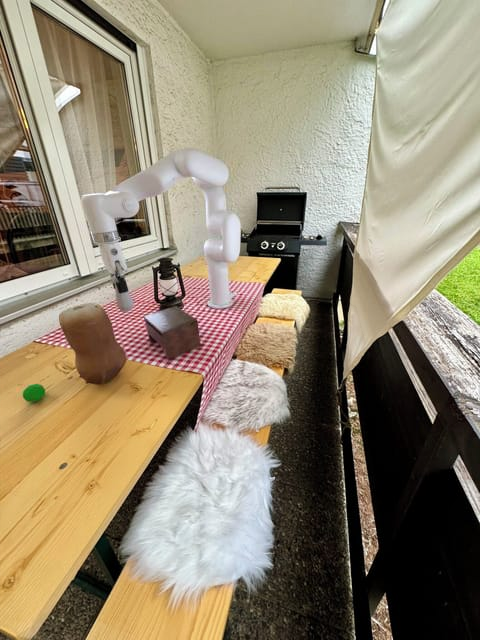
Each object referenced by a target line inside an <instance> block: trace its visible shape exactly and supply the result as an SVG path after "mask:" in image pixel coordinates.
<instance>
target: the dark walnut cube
mask: <svg viewBox="0 0 480 640" xmlns="http://www.w3.org/2000/svg"><path fill="white" fill-rule="evenodd" d="M143 319H144V323H145V328H146V333H147V336H148V341H149V342H150V343H154V342H157V343H158V344H159V346H161V347H162V348H163V349H164V352H165V355H166V360H167V361H171V360H173V359H174V358H178V357H180V356H182V355H184V354H186V353H188V352H190V351H191V352H192V351H193V350H195V349H198V348H199V347H201V346H202V345H201V337H200V329H199V321H198V320H199V319H197V318H195V317H194V316H192V315H190V314H189V313H188V312H186V311H184V310H183V309H182V308H180V307H179V306H178V305H174V306H171V307H168V308H165V309H162V310H159V311H155V312H152V313H149V314H147V315H146V314H145V315H144V316H143Z"/></svg>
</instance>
